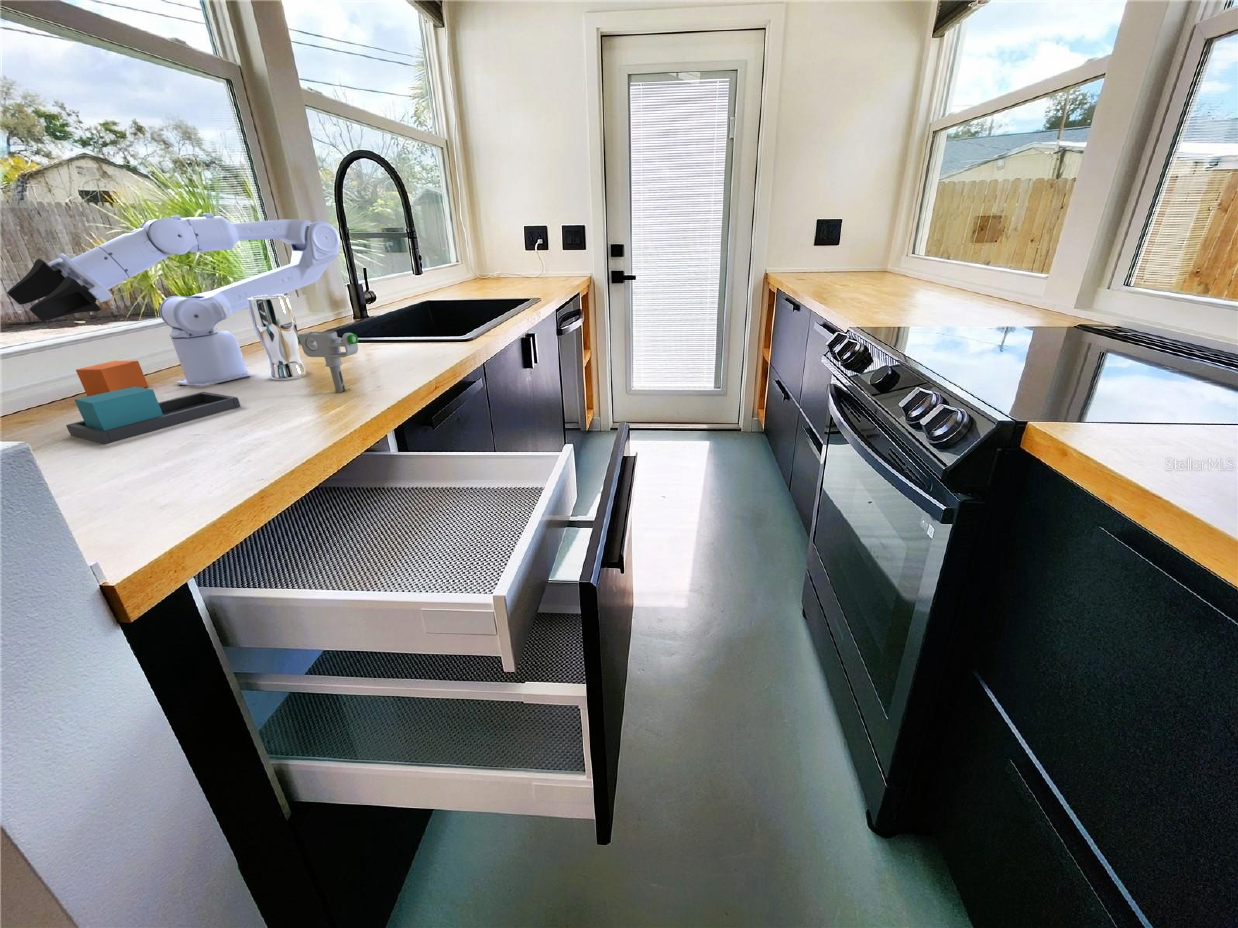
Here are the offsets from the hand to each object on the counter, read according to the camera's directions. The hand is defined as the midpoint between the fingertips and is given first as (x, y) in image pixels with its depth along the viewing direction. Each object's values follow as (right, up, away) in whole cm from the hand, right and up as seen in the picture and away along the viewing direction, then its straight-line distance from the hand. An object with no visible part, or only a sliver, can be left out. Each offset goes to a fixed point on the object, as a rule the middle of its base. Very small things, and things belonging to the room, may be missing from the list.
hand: (24, 307), depth 82 cm
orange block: (0, -11, +16) cm, 19 cm away
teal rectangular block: (+22, -19, -6) cm, 30 cm away
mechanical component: (+43, -12, +10) cm, 46 cm away
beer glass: (+27, -7, +22) cm, 36 cm away
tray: (+24, -18, -3) cm, 30 cm away
